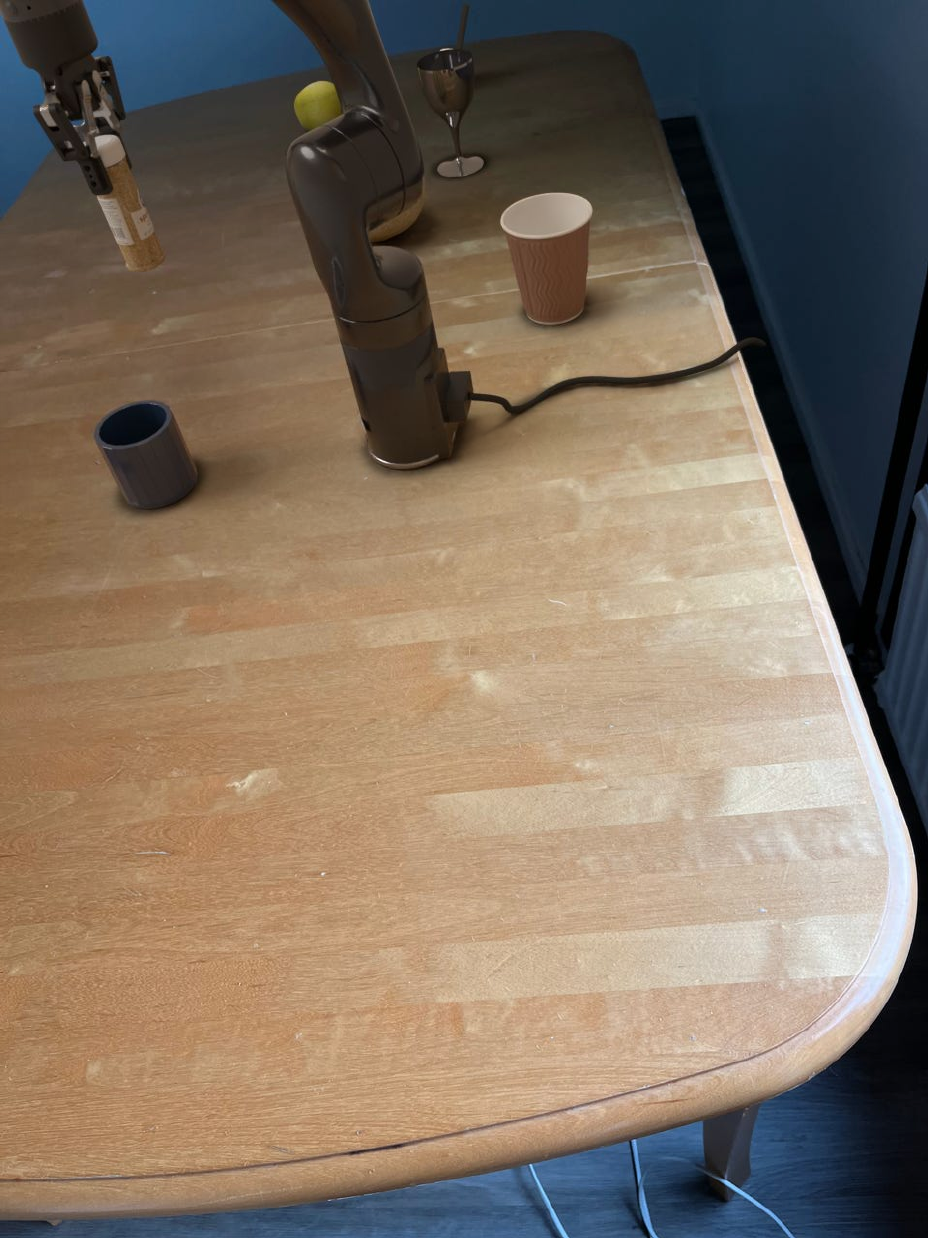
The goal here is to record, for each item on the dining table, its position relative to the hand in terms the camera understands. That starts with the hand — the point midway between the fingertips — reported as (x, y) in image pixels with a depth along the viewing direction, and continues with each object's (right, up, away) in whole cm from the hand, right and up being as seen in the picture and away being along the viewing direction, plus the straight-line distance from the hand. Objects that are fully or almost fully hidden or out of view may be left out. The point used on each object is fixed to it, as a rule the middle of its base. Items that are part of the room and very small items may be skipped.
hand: (113, 181), depth 108 cm
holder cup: (+4, -32, +2) cm, 32 cm away
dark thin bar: (+35, +45, +68) cm, 89 cm away
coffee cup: (+48, -9, +15) cm, 51 cm away
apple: (+15, +35, +62) cm, 73 cm away
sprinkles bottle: (+1, -6, +7) cm, 10 cm away
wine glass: (+37, +22, +46) cm, 63 cm away
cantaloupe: (+26, +7, +35) cm, 44 cm away
